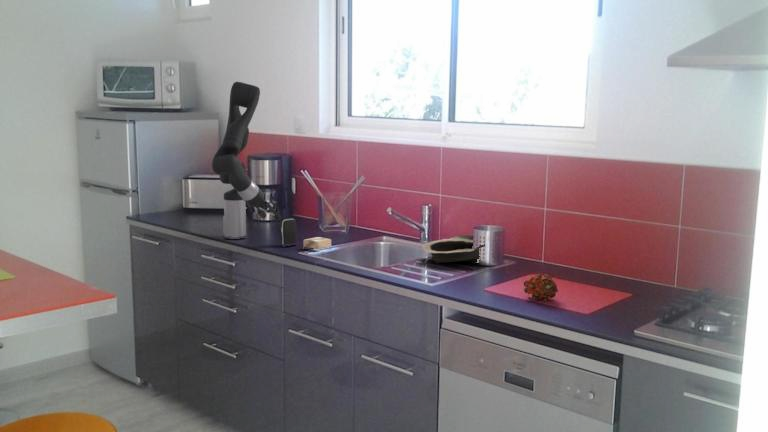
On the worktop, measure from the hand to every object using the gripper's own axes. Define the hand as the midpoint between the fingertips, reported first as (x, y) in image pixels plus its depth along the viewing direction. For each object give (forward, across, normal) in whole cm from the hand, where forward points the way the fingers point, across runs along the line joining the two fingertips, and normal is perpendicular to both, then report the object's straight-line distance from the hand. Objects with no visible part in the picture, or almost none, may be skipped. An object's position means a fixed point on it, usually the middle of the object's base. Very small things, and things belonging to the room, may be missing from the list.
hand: (272, 218), depth 290 cm
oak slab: (+17, -14, +1) cm, 22 cm away
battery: (+15, 0, +3) cm, 16 cm away
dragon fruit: (+9, -118, +10) cm, 119 cm away
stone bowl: (+28, -70, -10) cm, 76 cm away
